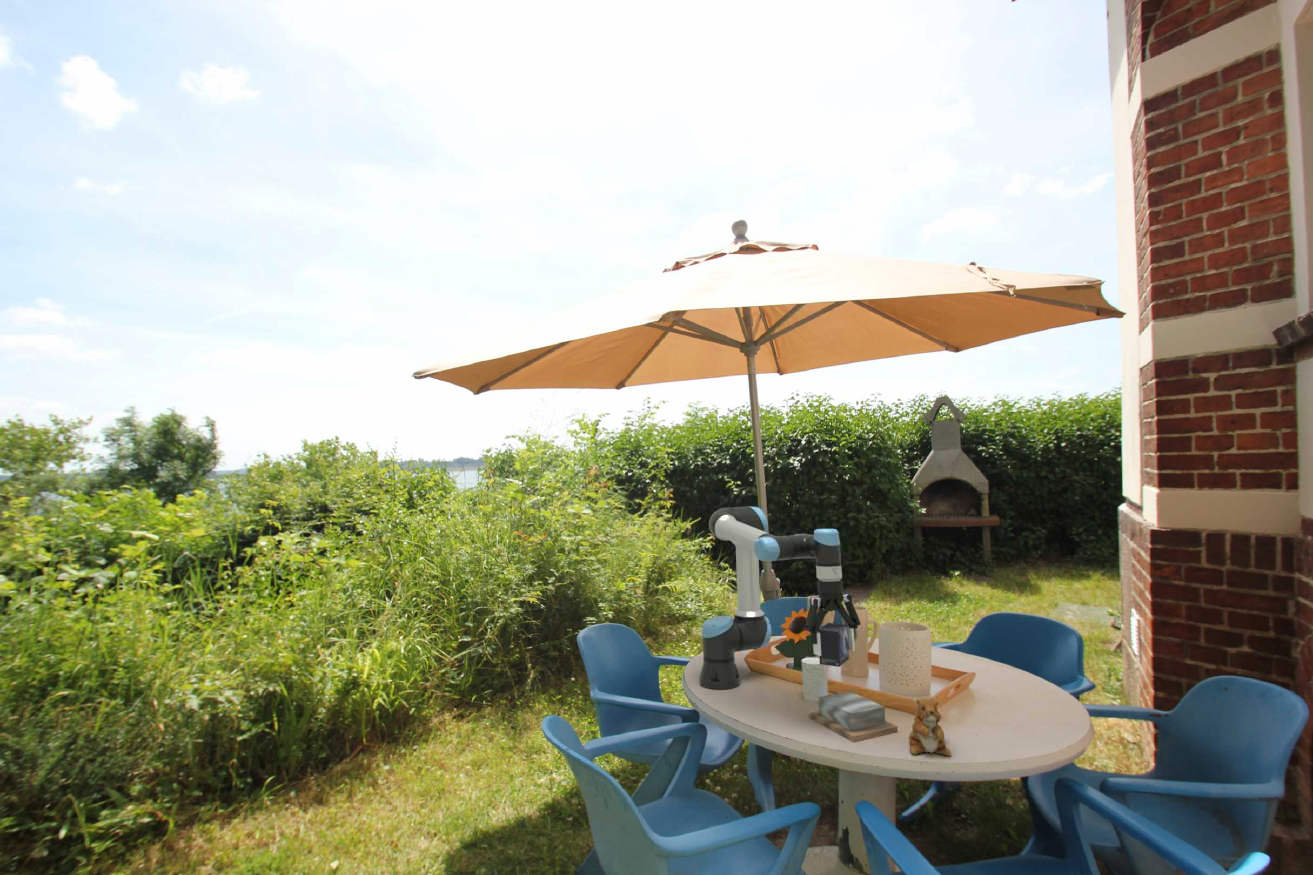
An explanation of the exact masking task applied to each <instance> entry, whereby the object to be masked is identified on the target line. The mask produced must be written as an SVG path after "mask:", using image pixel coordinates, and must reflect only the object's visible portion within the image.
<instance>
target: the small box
mask: <svg viewBox="0 0 1313 875" xmlns="http://www.w3.org/2000/svg"><path fill="white" fill-rule="evenodd" d="M847 627H848V625H847V624H842V623H835V622H834V623H833V622H827V623H826V624H824V625H821V626H820V628H819V630H818V632H817V633H820V642H821V656H818V658H819V659H820V664H822V665H826V666H831V667H836V668H840V667H841V666H842V665H844V664H845V663H846V662H847V661H848V660H849V659H850V652H849V651H850V650H849V648H848V631H847Z"/></svg>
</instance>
